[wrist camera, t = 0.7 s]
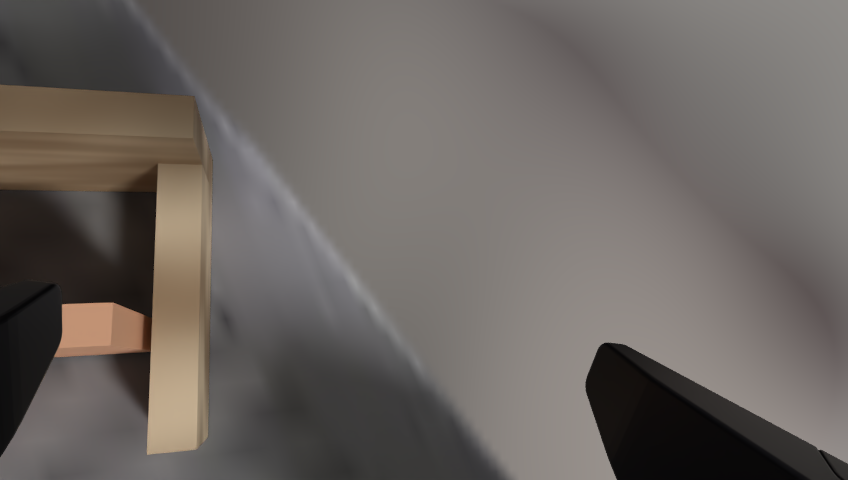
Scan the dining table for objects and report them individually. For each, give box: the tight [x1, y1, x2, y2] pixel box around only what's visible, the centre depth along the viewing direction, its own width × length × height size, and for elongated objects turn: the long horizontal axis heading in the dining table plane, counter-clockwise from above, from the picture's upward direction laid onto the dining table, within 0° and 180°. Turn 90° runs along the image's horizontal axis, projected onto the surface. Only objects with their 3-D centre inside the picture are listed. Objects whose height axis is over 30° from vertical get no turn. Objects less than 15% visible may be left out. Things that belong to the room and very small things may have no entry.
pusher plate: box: [54, 303, 152, 357], centre depth 18 cm, size 1×7×6 cm, turn 94°
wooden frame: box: [0, 85, 213, 455], centre depth 18 cm, size 12×11×6 cm
